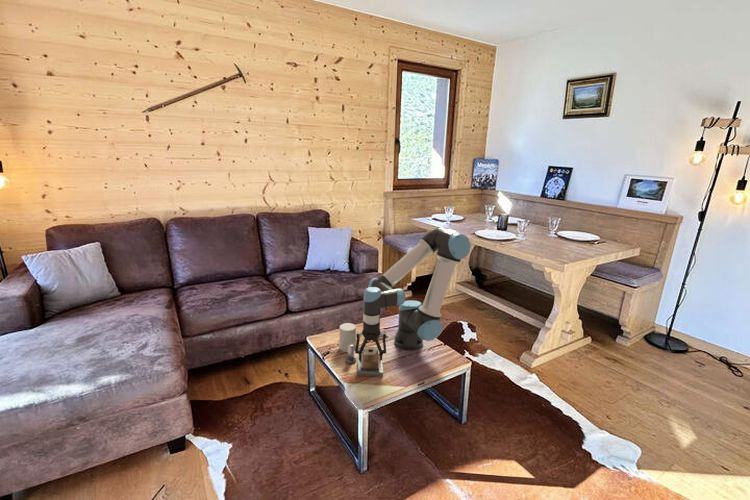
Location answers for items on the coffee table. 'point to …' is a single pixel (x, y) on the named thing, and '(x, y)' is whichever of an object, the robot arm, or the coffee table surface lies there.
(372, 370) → the tray
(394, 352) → the coffee table surface
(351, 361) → the post
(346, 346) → the cup
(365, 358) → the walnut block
